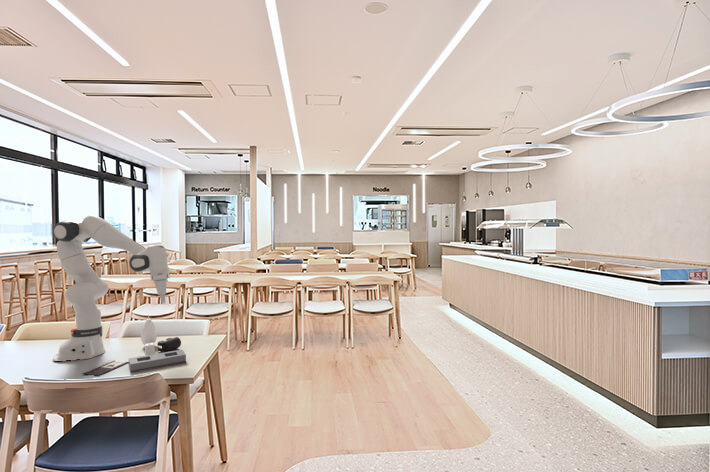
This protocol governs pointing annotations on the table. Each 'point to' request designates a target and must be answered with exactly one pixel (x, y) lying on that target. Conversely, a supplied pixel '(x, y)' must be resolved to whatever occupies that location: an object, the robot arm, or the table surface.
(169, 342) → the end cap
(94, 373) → the chocolate bar
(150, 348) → the charger
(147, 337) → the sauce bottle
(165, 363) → the power strip
